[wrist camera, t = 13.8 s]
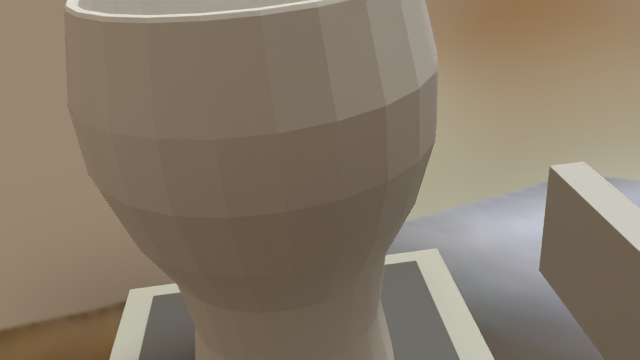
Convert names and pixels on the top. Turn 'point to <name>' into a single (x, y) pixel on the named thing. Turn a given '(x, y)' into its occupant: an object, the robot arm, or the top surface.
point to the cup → (260, 157)
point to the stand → (396, 298)
